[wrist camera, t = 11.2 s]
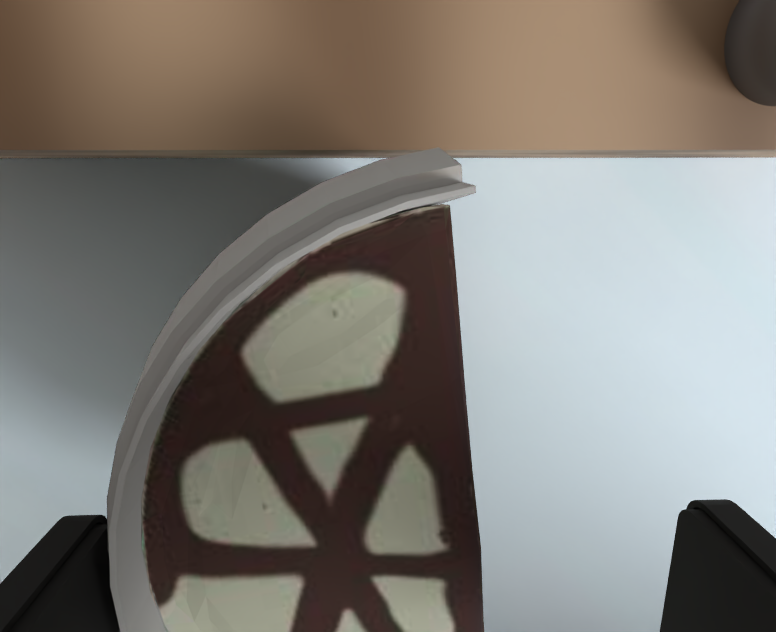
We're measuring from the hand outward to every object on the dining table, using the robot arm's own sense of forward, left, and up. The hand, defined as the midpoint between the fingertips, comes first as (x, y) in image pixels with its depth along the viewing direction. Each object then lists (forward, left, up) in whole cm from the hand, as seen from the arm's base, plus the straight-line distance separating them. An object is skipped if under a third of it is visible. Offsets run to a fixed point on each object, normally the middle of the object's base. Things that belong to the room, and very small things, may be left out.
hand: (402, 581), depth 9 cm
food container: (+2, 0, -9) cm, 10 cm away
